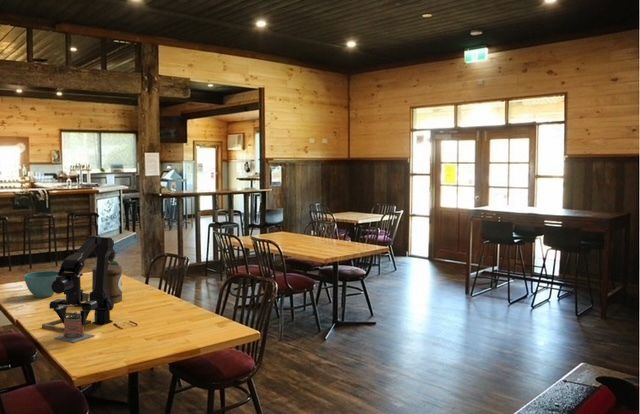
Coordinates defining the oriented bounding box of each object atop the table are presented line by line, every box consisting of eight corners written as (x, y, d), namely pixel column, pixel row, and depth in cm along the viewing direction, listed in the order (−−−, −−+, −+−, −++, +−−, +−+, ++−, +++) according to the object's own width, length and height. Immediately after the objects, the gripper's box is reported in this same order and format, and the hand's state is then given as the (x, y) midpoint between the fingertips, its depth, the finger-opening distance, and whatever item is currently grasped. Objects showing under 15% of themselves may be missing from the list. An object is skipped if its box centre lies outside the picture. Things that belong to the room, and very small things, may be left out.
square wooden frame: (91, 324, 250) (91, 320, 249) (64, 332, 237) (64, 329, 237) (69, 319, 256) (69, 316, 256) (42, 327, 243) (41, 324, 243)
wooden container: (127, 301, 292) (126, 260, 291) (100, 306, 281) (99, 263, 280) (113, 296, 302) (113, 257, 301) (87, 301, 291) (86, 260, 290)
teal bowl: (51, 300, 292) (50, 277, 291) (17, 299, 292) (17, 277, 291) (67, 292, 310) (67, 271, 309) (36, 292, 310) (35, 270, 310)
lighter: (85, 334, 232) (85, 311, 231) (82, 336, 228) (82, 313, 228) (65, 334, 231) (65, 311, 231) (62, 336, 228) (62, 313, 227)
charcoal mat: (94, 336, 232) (94, 335, 232) (74, 343, 223) (74, 341, 223) (74, 332, 237) (74, 331, 237) (54, 338, 228) (54, 337, 228)
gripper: (104, 285, 235) (105, 320, 236) (64, 283, 238) (65, 318, 239) (89, 290, 224) (90, 328, 225) (48, 289, 227) (49, 325, 228)
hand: (74, 324), depth 230 cm, fingers open, 8 cm apart
